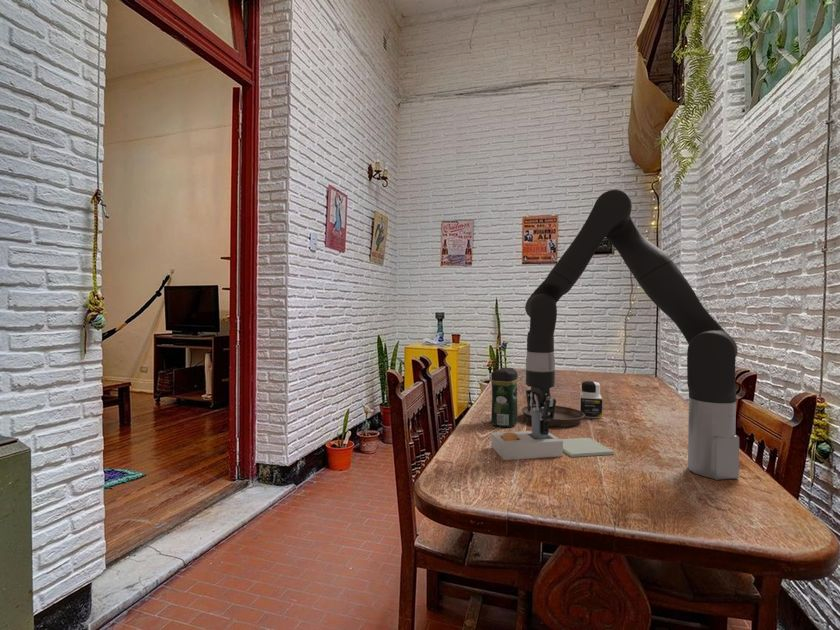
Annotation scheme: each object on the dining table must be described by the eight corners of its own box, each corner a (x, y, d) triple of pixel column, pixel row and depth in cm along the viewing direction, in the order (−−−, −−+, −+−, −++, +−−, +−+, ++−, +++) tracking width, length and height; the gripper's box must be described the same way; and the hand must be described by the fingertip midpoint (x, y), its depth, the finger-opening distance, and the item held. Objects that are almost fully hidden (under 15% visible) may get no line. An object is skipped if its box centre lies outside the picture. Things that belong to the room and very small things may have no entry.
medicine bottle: (580, 417, 153) (580, 383, 153) (579, 412, 160) (579, 379, 160) (602, 418, 151) (602, 384, 151) (600, 413, 158) (600, 380, 158)
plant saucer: (561, 411, 162) (561, 402, 162) (597, 426, 143) (598, 416, 142) (511, 415, 157) (511, 406, 157) (541, 431, 137) (541, 420, 137)
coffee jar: (497, 419, 151) (497, 365, 151) (520, 422, 147) (520, 367, 147) (487, 426, 142) (487, 369, 142) (511, 429, 139) (511, 370, 138)
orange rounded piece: (513, 443, 119) (513, 432, 119) (519, 447, 115) (519, 436, 115) (501, 444, 118) (501, 432, 118) (506, 448, 115) (506, 436, 115)
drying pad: (614, 454, 115) (614, 451, 115) (571, 457, 113) (571, 454, 113) (589, 440, 127) (589, 437, 127) (550, 442, 125) (550, 439, 125)
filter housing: (545, 444, 124) (545, 430, 124) (562, 456, 114) (562, 441, 114) (491, 447, 121) (491, 433, 121) (504, 460, 111) (504, 444, 111)
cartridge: (551, 453, 116) (551, 409, 116) (535, 454, 116) (535, 409, 115) (543, 447, 121) (544, 405, 120) (528, 448, 120) (529, 405, 120)
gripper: (566, 372, 111) (566, 438, 112) (541, 364, 125) (541, 423, 126) (538, 372, 110) (538, 440, 110) (516, 365, 124) (516, 425, 125)
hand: (539, 431), depth 118 cm, fingers closed on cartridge, 4 cm apart
